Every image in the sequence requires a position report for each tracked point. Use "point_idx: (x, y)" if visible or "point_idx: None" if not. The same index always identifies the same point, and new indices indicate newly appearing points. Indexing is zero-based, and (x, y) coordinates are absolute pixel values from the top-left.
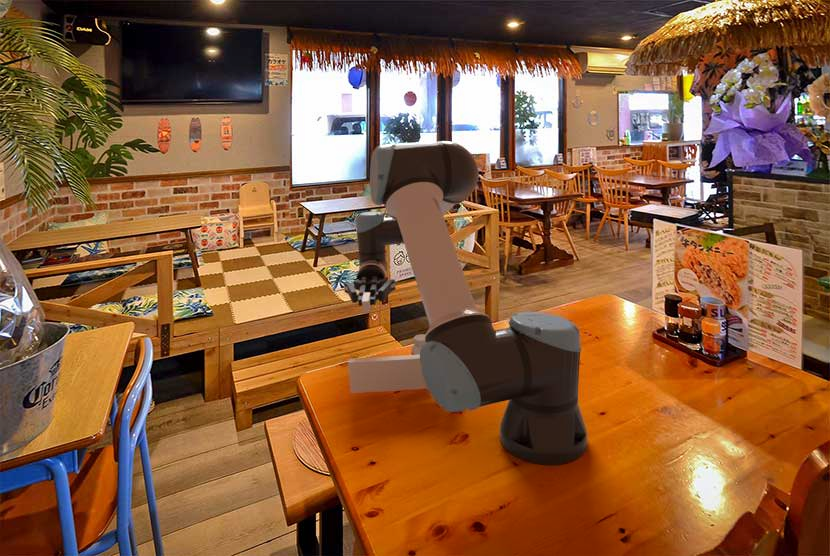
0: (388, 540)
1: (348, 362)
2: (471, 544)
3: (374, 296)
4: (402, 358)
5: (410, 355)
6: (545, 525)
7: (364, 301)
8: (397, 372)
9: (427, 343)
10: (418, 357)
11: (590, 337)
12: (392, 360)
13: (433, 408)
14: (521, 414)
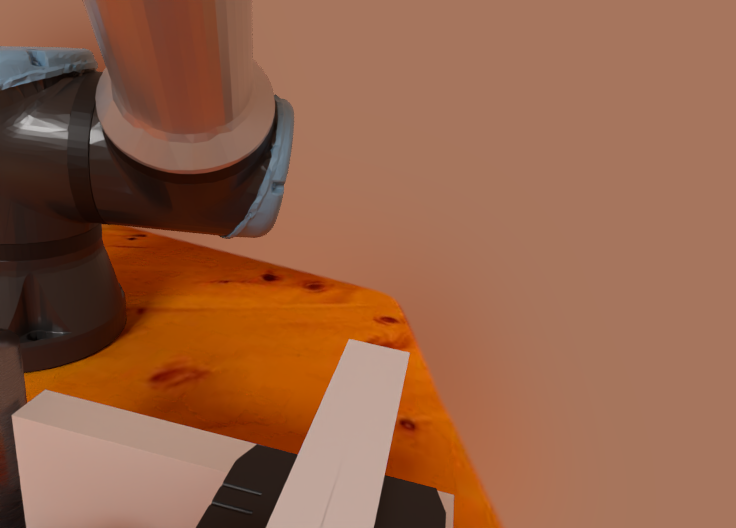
0: (374, 295)
1: (451, 496)
2: (289, 270)
3: (211, 520)
4: (206, 438)
5: (155, 448)
6: (198, 259)
7: (385, 348)
8: None
9: (289, 107)
10: (137, 421)
11: None
12: (253, 445)
13: None
14: (103, 245)
